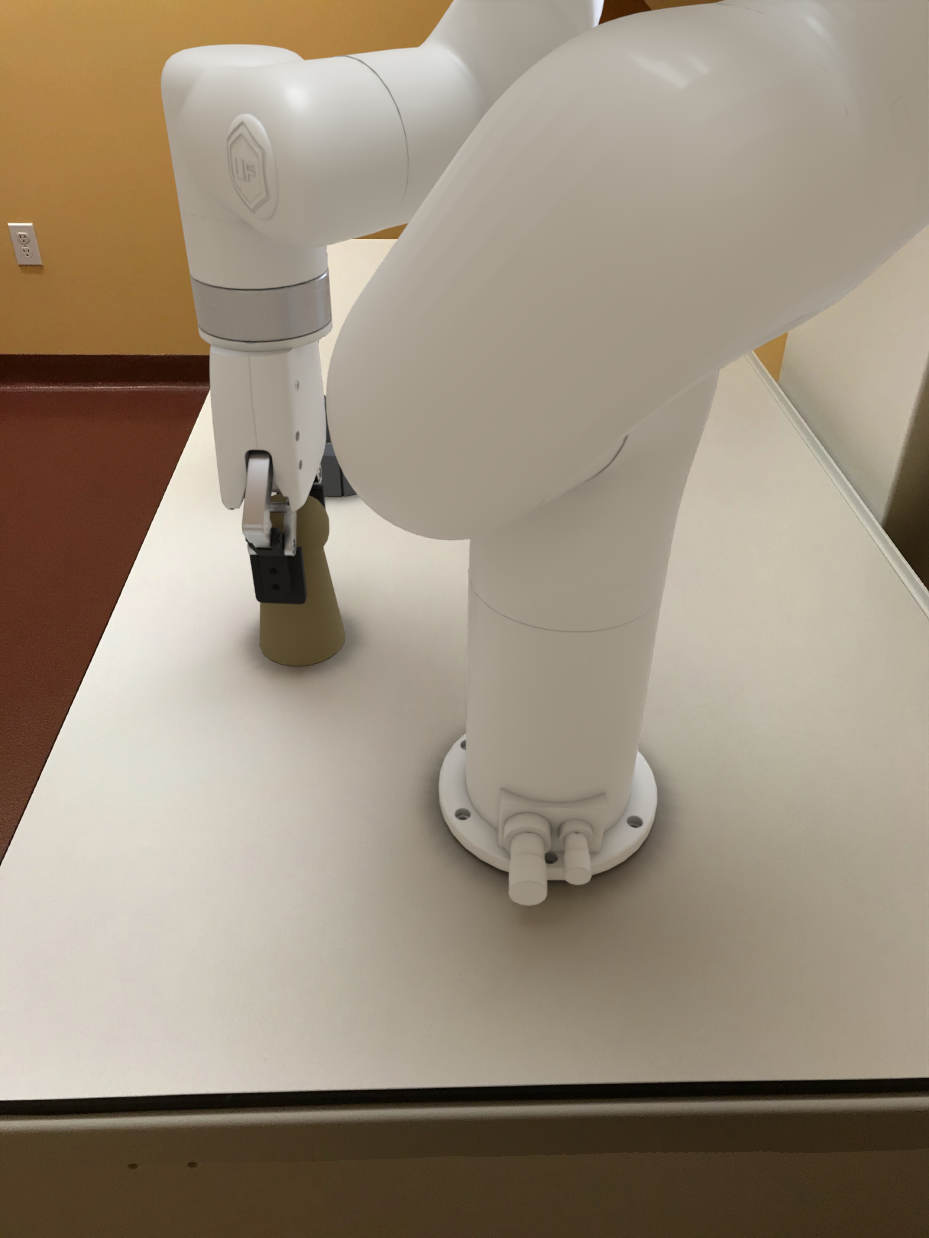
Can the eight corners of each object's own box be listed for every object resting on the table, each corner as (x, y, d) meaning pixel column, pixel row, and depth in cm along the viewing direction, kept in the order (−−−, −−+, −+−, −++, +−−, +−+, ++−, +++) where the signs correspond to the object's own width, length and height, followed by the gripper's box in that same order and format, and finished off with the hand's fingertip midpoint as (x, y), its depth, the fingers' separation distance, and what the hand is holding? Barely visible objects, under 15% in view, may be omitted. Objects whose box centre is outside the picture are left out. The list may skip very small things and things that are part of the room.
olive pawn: (263, 672, 65) (242, 533, 58) (255, 620, 70) (234, 486, 63) (352, 657, 66) (341, 520, 60) (337, 608, 71) (326, 475, 64)
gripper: (235, 256, 61) (266, 501, 71) (148, 359, 47) (203, 644, 57) (352, 259, 61) (366, 504, 71) (300, 363, 47) (328, 649, 57)
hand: (293, 565), depth 64 cm, fingers open, 7 cm apart
